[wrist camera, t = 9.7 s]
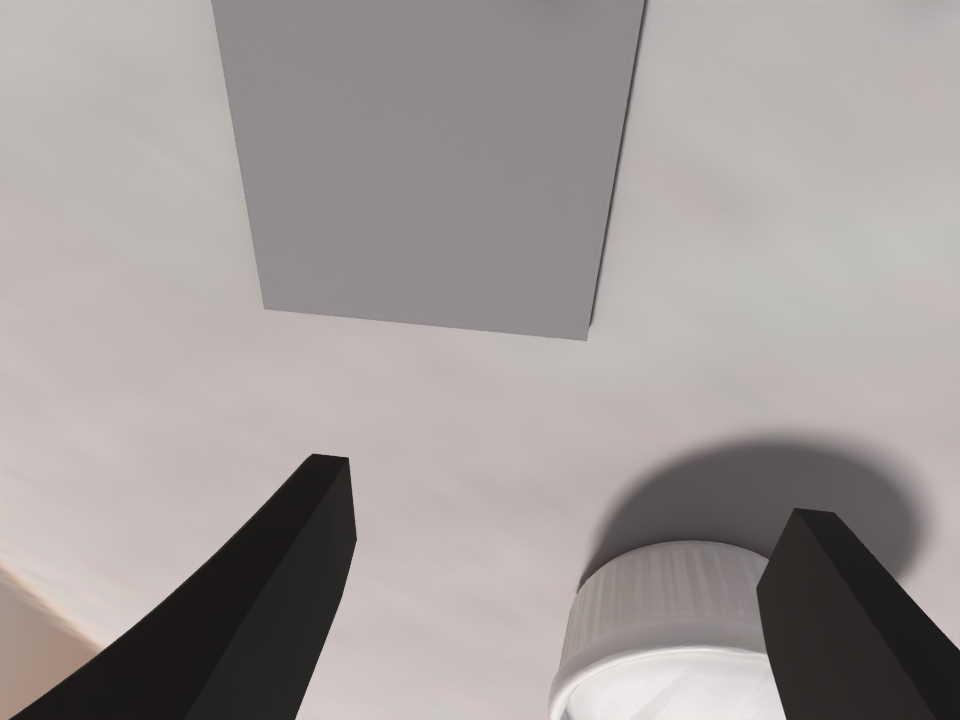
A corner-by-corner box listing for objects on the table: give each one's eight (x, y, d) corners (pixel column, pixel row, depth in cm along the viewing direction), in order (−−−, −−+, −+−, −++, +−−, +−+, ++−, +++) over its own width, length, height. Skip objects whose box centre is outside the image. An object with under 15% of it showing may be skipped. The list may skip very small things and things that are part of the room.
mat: (651, -57, 14) (654, -57, 13) (585, 333, 19) (586, 341, 19) (205, -83, 14) (196, -83, 14) (269, 302, 20) (264, 309, 20)
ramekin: (518, 538, 25) (508, 664, 21) (821, 494, 22) (884, 632, 18) (586, 688, 31) (590, 812, 26) (836, 669, 28) (886, 807, 23)
